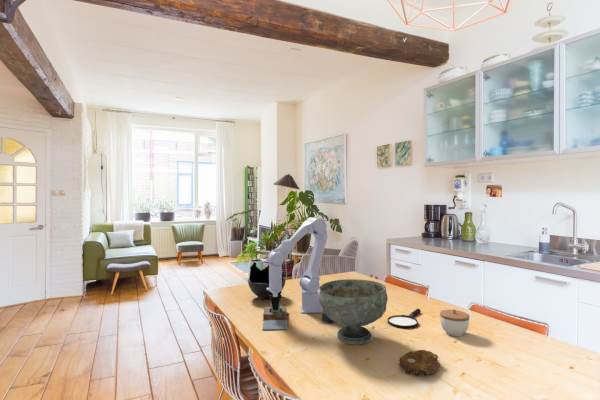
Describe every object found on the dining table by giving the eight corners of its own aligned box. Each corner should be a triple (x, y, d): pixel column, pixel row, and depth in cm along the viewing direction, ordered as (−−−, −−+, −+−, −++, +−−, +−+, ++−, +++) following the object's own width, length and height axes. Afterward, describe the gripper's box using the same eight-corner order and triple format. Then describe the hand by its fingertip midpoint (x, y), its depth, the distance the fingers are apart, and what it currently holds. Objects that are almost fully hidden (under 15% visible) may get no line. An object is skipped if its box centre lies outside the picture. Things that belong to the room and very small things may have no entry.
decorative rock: (412, 355, 122) (394, 374, 111) (411, 343, 122) (393, 361, 111) (446, 363, 115) (431, 384, 103) (445, 350, 115) (430, 370, 103)
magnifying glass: (432, 315, 161) (432, 311, 161) (410, 332, 142) (410, 327, 142) (405, 310, 169) (405, 305, 169) (382, 325, 150) (382, 320, 150)
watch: (331, 324, 149) (331, 298, 149) (319, 319, 156) (319, 294, 156) (341, 321, 153) (341, 296, 153) (329, 316, 159) (329, 292, 159)
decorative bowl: (343, 359, 118) (343, 299, 118) (306, 332, 141) (306, 282, 141) (402, 343, 130) (402, 289, 130) (360, 321, 153) (360, 275, 153)
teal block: (279, 314, 163) (279, 294, 163) (279, 317, 159) (279, 297, 159) (271, 314, 162) (271, 295, 162) (270, 317, 158) (270, 297, 158)
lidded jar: (467, 330, 143) (467, 307, 143) (471, 340, 133) (471, 315, 133) (439, 326, 147) (439, 304, 147) (440, 336, 137) (440, 312, 137)
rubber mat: (286, 321, 154) (286, 319, 154) (287, 329, 144) (287, 328, 144) (263, 321, 153) (263, 320, 153) (262, 330, 143) (262, 329, 143)
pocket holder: (286, 311, 166) (286, 306, 166) (287, 319, 156) (287, 313, 156) (264, 312, 166) (264, 306, 165) (263, 320, 155) (263, 314, 155)
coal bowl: (292, 296, 192) (292, 261, 192) (270, 305, 175) (270, 268, 175) (263, 290, 203) (263, 258, 202) (240, 299, 186) (239, 263, 185)
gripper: (267, 275, 167) (267, 303, 168) (265, 282, 153) (265, 313, 153) (282, 274, 168) (282, 303, 168) (282, 282, 153) (282, 313, 153)
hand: (275, 308), depth 161 cm, fingers open, 4 cm apart
